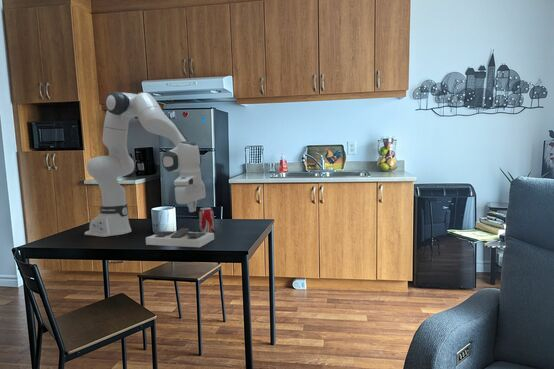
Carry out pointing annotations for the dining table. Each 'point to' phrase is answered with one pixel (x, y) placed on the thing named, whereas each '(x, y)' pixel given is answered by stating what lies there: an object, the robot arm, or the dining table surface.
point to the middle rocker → (180, 233)
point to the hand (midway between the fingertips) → (192, 211)
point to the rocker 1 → (163, 232)
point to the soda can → (206, 220)
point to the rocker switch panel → (180, 240)
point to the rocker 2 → (195, 234)
